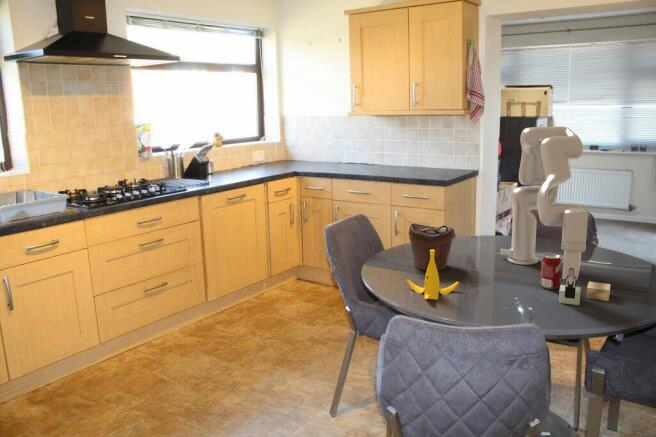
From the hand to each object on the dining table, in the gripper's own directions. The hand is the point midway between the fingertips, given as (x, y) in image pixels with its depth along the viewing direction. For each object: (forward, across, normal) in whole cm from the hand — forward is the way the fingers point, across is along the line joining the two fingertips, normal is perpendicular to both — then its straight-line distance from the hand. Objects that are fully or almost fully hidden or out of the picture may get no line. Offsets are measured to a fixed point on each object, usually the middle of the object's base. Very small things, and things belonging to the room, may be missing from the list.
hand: (570, 293), depth 202 cm
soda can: (+3, -12, -7) cm, 15 cm away
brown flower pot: (+2, -22, -54) cm, 59 cm away
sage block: (+3, 0, 0) cm, 3 cm away
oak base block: (+3, -8, +9) cm, 12 cm away
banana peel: (+3, +8, -44) cm, 45 cm away
